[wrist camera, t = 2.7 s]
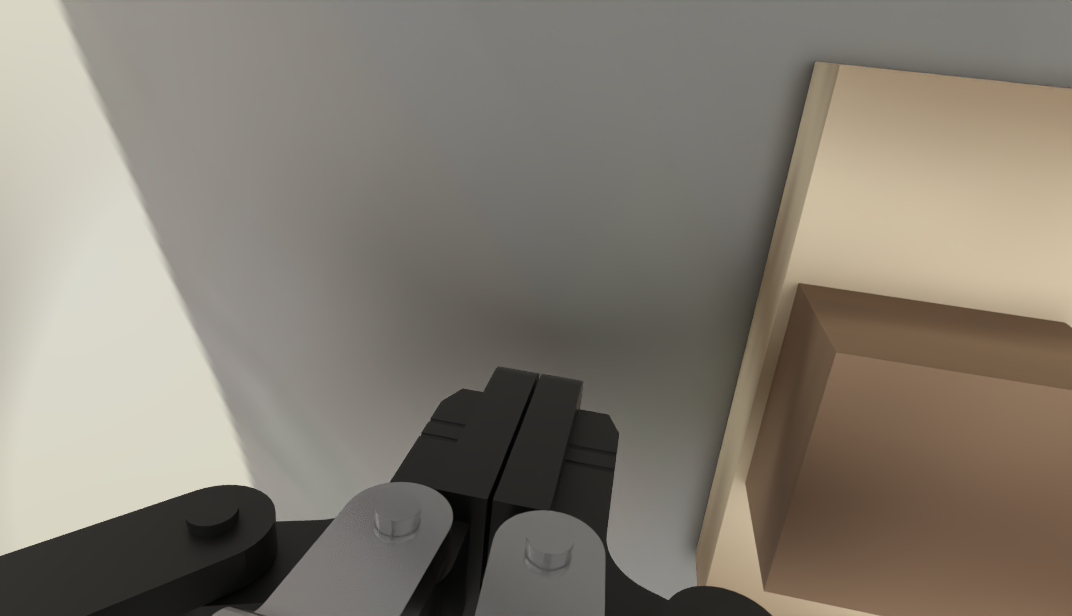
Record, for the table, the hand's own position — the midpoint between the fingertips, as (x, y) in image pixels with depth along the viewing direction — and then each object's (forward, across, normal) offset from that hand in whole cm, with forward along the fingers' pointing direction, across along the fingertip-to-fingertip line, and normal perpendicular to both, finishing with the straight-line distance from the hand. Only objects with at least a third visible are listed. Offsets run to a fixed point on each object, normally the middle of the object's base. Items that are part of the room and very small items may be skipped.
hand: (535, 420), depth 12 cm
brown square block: (+2, -6, 0) cm, 7 cm away
